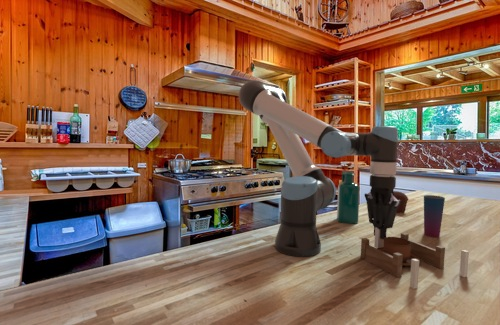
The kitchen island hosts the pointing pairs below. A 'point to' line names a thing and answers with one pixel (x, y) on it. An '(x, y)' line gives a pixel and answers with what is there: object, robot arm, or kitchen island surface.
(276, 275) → the kitchen island surface
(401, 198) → the muffin
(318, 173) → the robot arm
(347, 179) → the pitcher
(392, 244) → the cup and saucer
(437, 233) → the cup
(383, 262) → the brown wooden rail pair
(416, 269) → the posts
